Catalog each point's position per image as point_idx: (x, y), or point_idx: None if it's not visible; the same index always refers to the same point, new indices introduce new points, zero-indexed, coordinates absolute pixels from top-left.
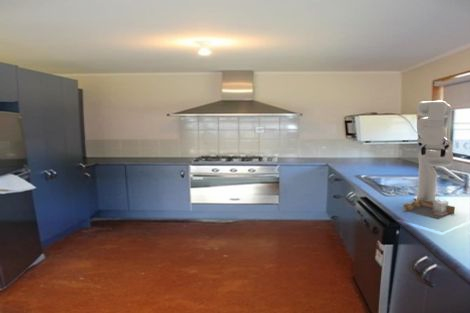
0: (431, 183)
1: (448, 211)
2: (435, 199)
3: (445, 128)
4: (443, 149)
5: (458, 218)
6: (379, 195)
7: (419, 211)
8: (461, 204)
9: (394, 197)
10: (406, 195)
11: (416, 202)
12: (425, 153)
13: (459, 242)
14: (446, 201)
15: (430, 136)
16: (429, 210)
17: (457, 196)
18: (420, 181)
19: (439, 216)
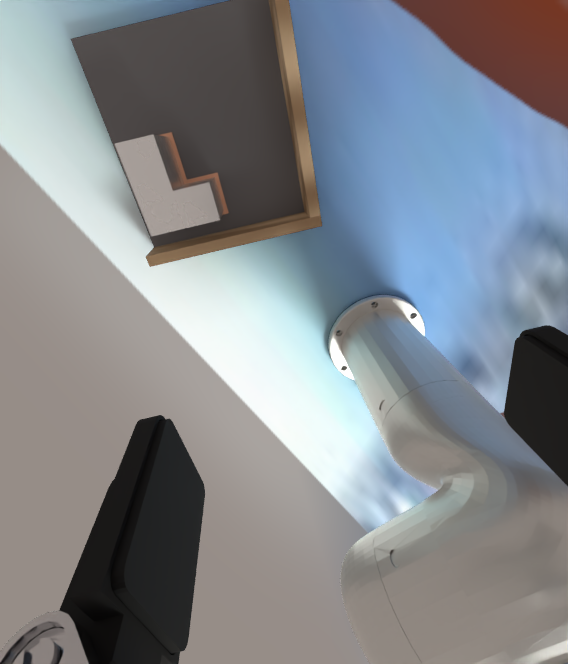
0: (375, 382)
1: (175, 243)
2: (212, 207)
3: None
4: (43, 614)
5: (114, 227)
6: (560, 200)
7: (228, 86)
8: (274, 416)
9: (487, 246)
10: (469, 331)
11: (298, 147)
12: (515, 429)
13: None
14: (157, 230)
15: None
16: (227, 172)
17: (351, 482)
18: (433, 358)
19: (119, 114)
